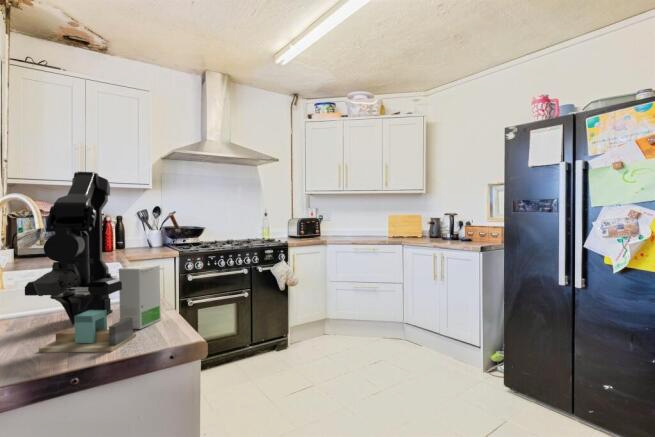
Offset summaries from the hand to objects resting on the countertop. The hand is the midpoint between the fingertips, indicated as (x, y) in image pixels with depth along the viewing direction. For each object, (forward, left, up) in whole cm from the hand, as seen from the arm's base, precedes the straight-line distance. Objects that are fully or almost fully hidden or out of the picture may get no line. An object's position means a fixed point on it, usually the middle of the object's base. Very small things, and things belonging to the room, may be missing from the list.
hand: (75, 324), depth 78 cm
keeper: (+4, 0, -3) cm, 5 cm away
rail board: (+3, 0, -4) cm, 6 cm away
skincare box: (+7, +14, -5) cm, 16 cm away
